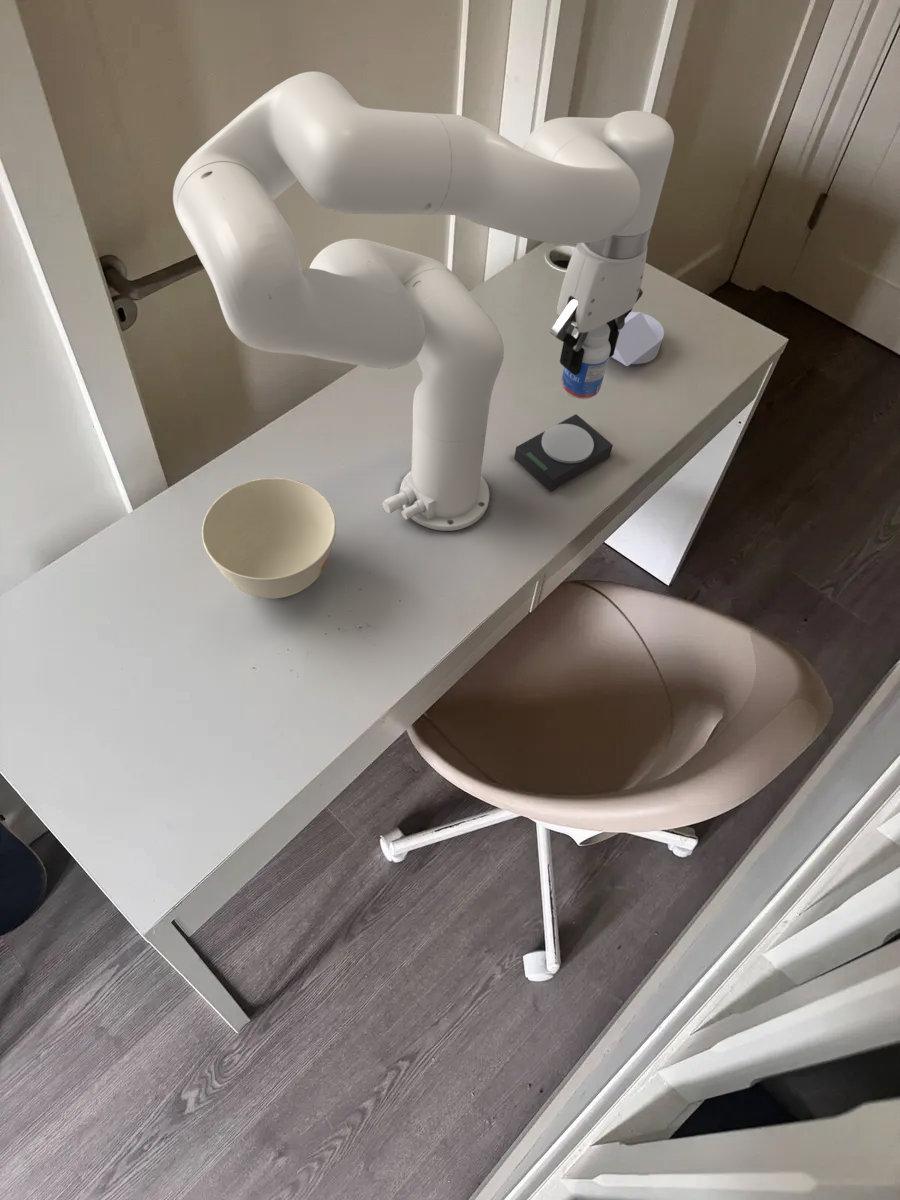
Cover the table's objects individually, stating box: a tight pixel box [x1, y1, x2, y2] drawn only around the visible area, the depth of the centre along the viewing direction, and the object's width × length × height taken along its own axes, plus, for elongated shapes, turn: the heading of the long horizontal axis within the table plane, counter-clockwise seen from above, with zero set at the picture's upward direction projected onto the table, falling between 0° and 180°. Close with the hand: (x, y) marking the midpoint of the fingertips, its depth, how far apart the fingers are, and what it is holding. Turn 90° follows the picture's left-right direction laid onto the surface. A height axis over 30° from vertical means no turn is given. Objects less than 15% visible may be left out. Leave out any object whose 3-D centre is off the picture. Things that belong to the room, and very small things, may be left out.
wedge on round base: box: [611, 311, 665, 367], centre depth 139 cm, size 9×7×13 cm
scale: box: [513, 413, 614, 493], centre depth 126 cm, size 12×8×3 cm, turn 128°
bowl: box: [201, 477, 337, 599], centre depth 108 cm, size 16×16×10 cm
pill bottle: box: [560, 323, 611, 400], centre depth 113 cm, size 6×5×10 cm
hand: (586, 358), depth 113 cm, fingers closed on pill bottle, 5 cm apart
